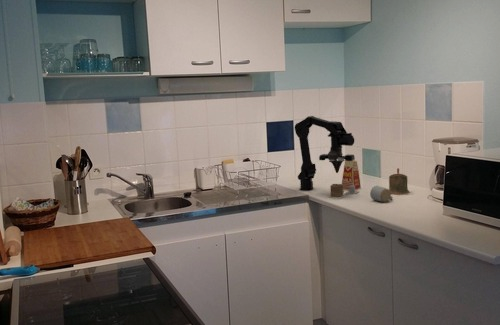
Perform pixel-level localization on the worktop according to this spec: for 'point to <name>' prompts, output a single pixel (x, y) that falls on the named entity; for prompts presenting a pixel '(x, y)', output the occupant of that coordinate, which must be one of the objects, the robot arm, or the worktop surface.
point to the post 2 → (352, 190)
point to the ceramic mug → (380, 194)
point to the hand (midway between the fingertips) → (337, 172)
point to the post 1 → (337, 197)
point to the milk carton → (351, 175)
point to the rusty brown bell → (398, 184)
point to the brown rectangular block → (336, 190)
